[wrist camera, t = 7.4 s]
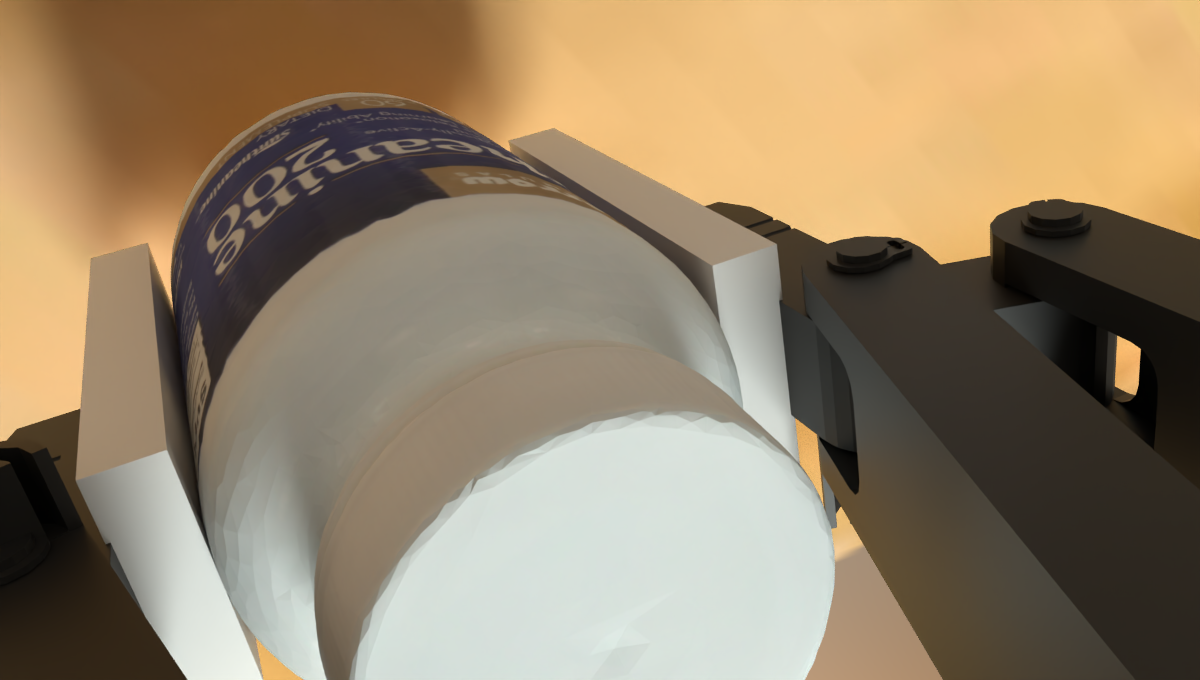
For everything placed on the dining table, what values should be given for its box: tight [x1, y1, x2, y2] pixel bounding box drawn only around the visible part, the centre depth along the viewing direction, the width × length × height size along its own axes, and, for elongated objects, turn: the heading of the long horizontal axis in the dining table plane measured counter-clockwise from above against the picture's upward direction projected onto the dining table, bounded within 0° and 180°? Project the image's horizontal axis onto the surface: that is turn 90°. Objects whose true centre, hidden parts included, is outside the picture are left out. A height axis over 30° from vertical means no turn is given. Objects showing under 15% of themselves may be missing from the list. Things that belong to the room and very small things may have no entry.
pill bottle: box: [171, 92, 835, 680], centre depth 12 cm, size 5×5×10 cm
